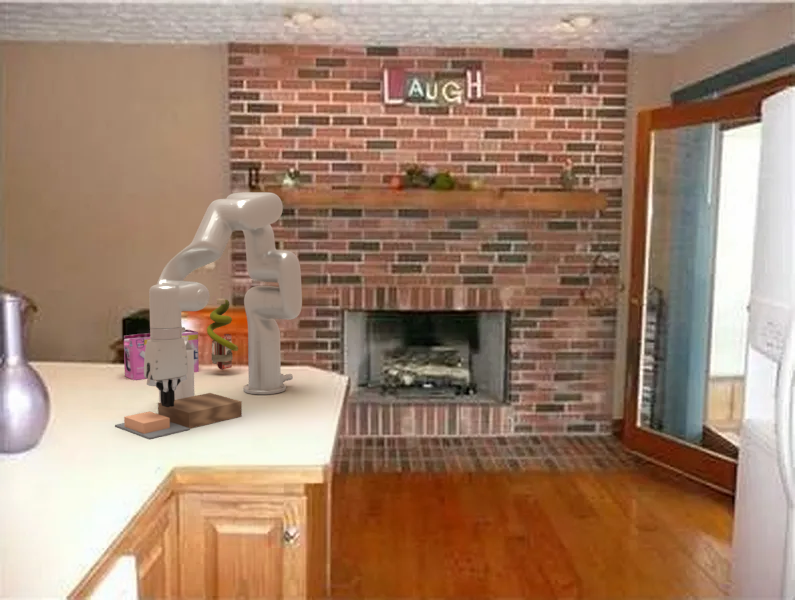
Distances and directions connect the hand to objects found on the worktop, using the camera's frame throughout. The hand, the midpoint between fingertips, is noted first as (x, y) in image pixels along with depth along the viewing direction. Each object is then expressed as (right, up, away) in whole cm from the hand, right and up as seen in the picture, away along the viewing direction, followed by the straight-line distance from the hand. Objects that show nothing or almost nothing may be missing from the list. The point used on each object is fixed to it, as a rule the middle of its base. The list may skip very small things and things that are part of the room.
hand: (167, 405), depth 193 cm
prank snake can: (0, +2, +62) cm, 62 cm away
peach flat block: (-4, -2, -4) cm, 6 cm away
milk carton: (-4, -3, +22) cm, 22 cm away
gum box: (-20, +2, +60) cm, 64 cm away
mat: (-3, -5, -3) cm, 7 cm away
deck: (+6, -4, +8) cm, 11 cm away
